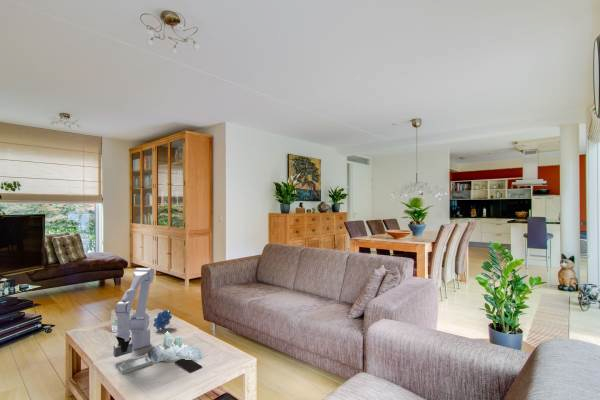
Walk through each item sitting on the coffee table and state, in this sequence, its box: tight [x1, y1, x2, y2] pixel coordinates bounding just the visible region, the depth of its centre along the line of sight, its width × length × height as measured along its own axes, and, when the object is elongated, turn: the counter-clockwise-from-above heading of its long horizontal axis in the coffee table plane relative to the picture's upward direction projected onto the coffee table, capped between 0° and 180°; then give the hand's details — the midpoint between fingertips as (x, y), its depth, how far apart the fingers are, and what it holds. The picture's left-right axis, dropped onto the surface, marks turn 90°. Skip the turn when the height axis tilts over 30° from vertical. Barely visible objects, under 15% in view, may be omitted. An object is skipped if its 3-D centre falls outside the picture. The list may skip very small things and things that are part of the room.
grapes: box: [153, 309, 173, 331], centre depth 205 cm, size 12×7×12 cm, turn 135°
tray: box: [116, 353, 153, 375], centre depth 159 cm, size 14×9×4 cm, turn 133°
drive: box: [113, 340, 134, 358], centre depth 165 cm, size 8×4×5 cm, turn 133°
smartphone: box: [174, 358, 203, 374], centre depth 160 cm, size 7×1×15 cm
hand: (123, 350), depth 165 cm, fingers closed on drive, 4 cm apart
